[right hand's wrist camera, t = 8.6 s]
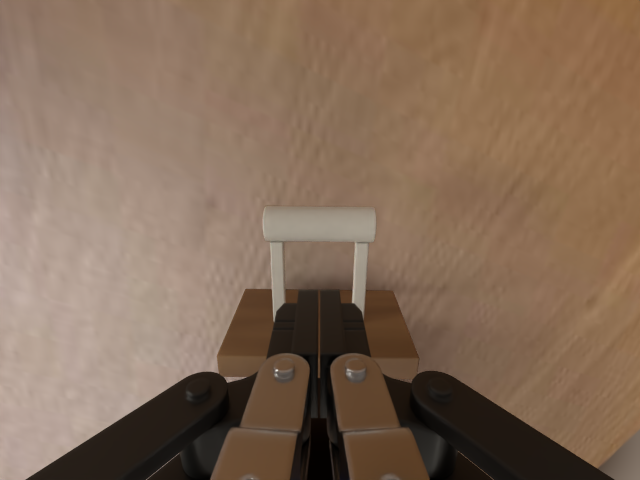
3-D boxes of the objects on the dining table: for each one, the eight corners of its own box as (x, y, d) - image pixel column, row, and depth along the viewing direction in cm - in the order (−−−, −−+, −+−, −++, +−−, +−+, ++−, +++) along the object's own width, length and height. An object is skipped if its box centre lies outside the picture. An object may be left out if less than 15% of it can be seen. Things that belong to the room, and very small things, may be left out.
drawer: (237, 190, 18) (200, 225, 13) (402, 192, 18) (438, 228, 13) (261, 495, 27) (245, 595, 22) (372, 496, 27) (385, 597, 22)
